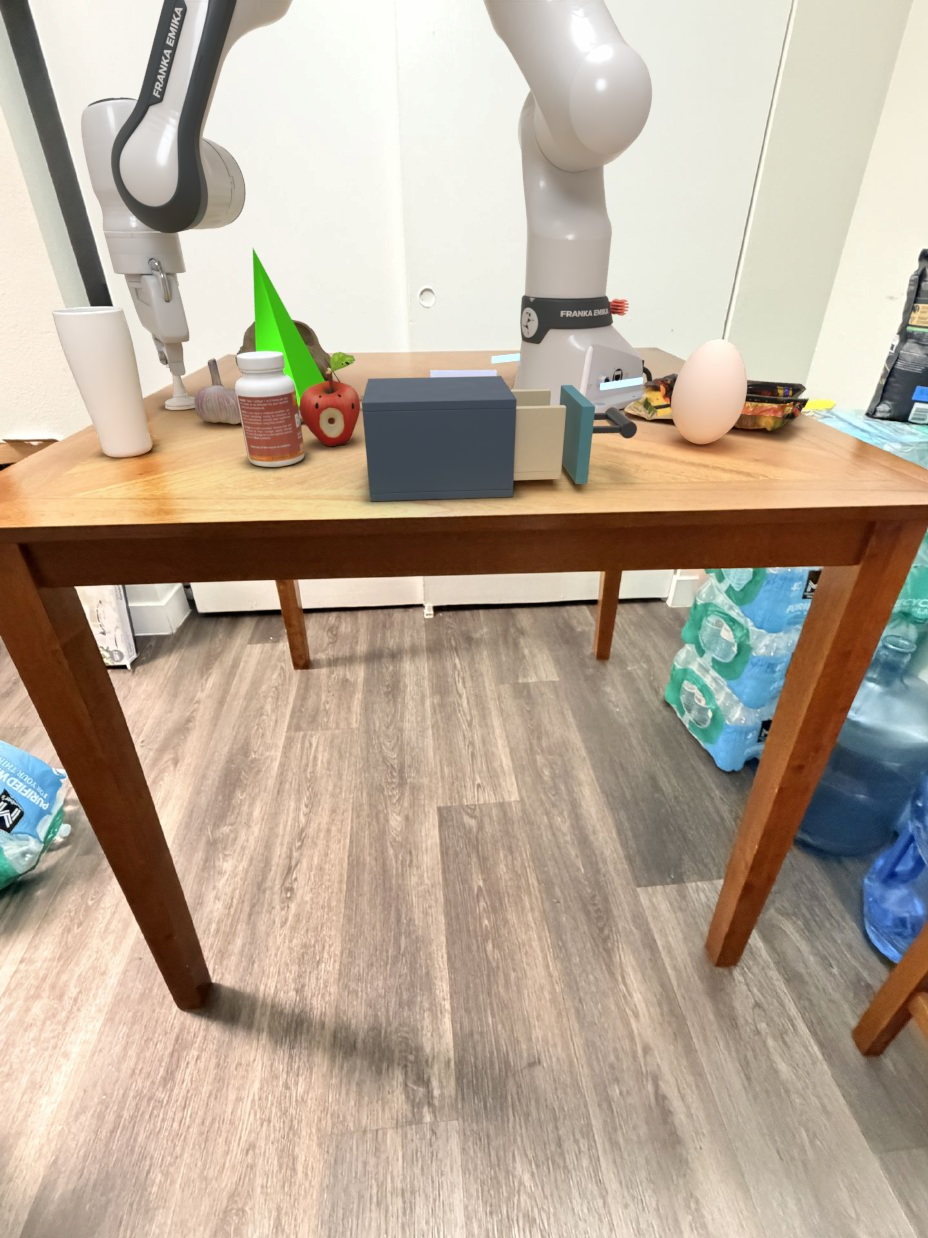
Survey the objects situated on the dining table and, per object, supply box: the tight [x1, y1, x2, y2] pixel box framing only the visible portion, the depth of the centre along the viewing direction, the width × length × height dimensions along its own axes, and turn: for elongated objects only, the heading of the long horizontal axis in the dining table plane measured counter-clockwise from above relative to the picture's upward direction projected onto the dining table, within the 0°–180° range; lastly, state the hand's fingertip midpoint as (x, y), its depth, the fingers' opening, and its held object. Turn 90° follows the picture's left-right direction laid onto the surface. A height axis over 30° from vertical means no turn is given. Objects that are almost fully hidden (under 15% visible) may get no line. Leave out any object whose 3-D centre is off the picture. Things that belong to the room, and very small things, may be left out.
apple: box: [299, 351, 361, 447], centre depth 73 cm, size 8×7×10 cm
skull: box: [234, 319, 332, 381], centre depth 101 cm, size 17×18×14 cm
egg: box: [671, 338, 748, 445], centre depth 71 cm, size 8×8×11 cm
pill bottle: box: [234, 351, 306, 468], centre depth 67 cm, size 6×6×11 cm
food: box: [624, 373, 810, 432], centre depth 84 cm, size 22×19×4 cm
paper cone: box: [252, 248, 325, 423], centre depth 85 cm, size 11×5×25 cm
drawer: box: [510, 385, 638, 485], centre depth 62 cm, size 17×9×7 cm, turn 94°
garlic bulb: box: [194, 357, 241, 425], centre depth 81 cm, size 8×7×8 cm
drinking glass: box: [51, 305, 153, 458], centre depth 69 cm, size 7×7×15 cm
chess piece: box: [162, 347, 195, 411], centre depth 90 cm, size 5×5×10 cm
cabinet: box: [361, 375, 517, 502], centre depth 62 cm, size 14×11×9 cm
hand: (172, 369), depth 90 cm, fingers open, 8 cm apart
